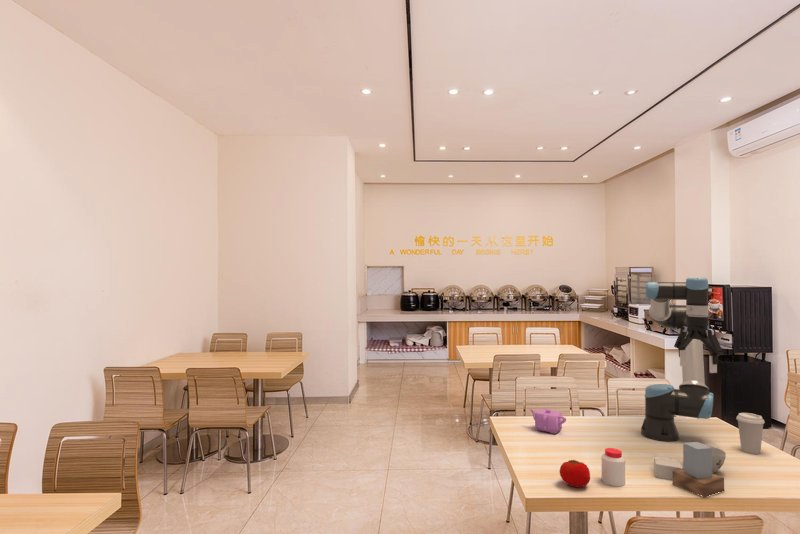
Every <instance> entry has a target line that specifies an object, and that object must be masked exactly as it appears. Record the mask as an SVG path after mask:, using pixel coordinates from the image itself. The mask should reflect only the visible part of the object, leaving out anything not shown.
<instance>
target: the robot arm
mask: <svg viewBox="0 0 800 534" xmlns="http://www.w3.org/2000/svg"><path fill="white" fill-rule="evenodd" d="M709 287H710V286H709V280H708V278H707V277H687V278H686V279H685V282H684V281H681V282H679V281H648V282H646V283H645V298H646V299H647V300H650V306H649V308H648V316H649V317H650V319H651V320H652V321H653V323H655V324H656V325H658V326H661V327H663V328H667V329H676V331H677V333H678V336H677V338H676V340H675V343H674V345H673V347H674V348H676V349H677V350H678V358H679V366H680V367H681V369H682V370H681V372H682V375H681V376H682V382H681V384H679V386H678V388H675V387H674V385H672V384H667V383H656V384H654V383H653V384H650V385H648V386H646V387H645V389H644V392H645V394H644V398H645V399H644V401H645V403H644V404H645V405H644V407H645V409H644V410H645V411H644V419H643V423H642V425H641V429H640V433H641V435H642V436H644V437H645V438H648V439H652V440H656V441H660V442H661V441H662V442H676V441H678V440H679V439H680V436H679V435H680V434H679V432H678V431H679V430H678V428H677V426H676V422H675V416H679V417H685V418H687V417H688V418H693V419H697V420H699V419H703V420H708V419H710V418H711V417H712V414H713V407H714V393H713V392H710V388H709V387H708V386H707V385H706V383H705V381H706V380H705V368H704V367H705V364H704V362H705V361H704V348H703V347H704V346H705V347H706V349H707V351H708V352H709V354H710V355H709V356H708V357H709V360H708V361H709V362H708V363H709V365H708V366H709V374H718V365H719V356H723V355H724V351H723V348H722V346H721V344H720V343H719V340H718V337H717V334H716V329H710V322H709V316H710V315H709V314H710V313H709ZM672 300H674V301H675V300H676V301H678V300H679V301H685V302H686V304H684V305H683V304H681V305H680V304H670V302H671V301H672Z"/></svg>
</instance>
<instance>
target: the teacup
mask: <svg viewBox="0 0 800 534" xmlns="http://www.w3.org/2000/svg"><path fill="white" fill-rule="evenodd" d="M705 445H706V446H709V447H711V448H712V473H713V474H715V473H716V472H717V471H719V470H720V469H721V468H722V467H723V465H724V464H725V461H726V457H727V453H726V452H725V451H724V450H723V449H721V448H719V447H715V446H712V445H708V444H705Z"/></svg>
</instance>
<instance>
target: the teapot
mask: <svg viewBox="0 0 800 534" xmlns="http://www.w3.org/2000/svg"><path fill="white" fill-rule="evenodd" d="M528 410H529V411H530V412H531V413H532V419H533V420H534V422H535V423H534V429H535V430H537V431H539V432H541V431H542V433H543V431H544V432H547V433H549V434H551V435H554V434H557V433H559V432H560V431H561V430H562V429H563V426H562V425H563V424H564V423H566V421H567V418H566V417H565V416H563V415H562V414H563V412H560V411H555V410H551V409H550V408H546V409H543V408H540V409H539V410H537V411H535V410H534V409H533V408H528Z"/></svg>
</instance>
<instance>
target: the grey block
mask: <svg viewBox="0 0 800 534" xmlns="http://www.w3.org/2000/svg"><path fill="white" fill-rule="evenodd" d="M653 462H654V463H653V467H654V468H653V469H654V474H655V478H658V479H665V480H669V481H670V480H671V481H673V474H672V471H675V470H678V469H682V467H681V464H680V460H679V459H675V458H674V459H673V458H667V457H662V456H656V455H655V456H654V457H653Z"/></svg>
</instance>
